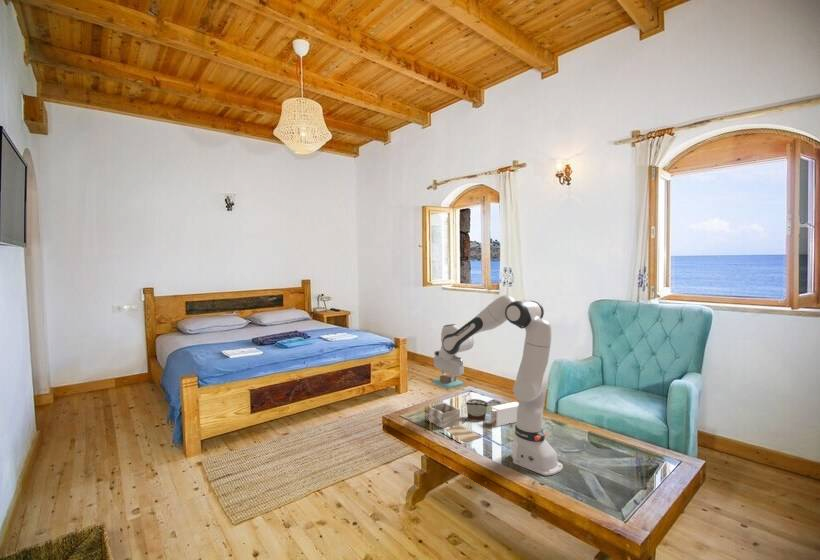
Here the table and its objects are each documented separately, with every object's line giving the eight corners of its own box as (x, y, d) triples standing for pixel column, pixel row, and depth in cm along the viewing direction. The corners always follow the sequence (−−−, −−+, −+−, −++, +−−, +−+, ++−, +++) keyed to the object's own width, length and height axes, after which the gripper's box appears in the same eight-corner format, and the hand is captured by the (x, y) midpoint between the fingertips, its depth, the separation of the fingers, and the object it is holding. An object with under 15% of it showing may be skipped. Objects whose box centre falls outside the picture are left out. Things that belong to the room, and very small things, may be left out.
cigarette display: (515, 417, 228) (516, 401, 228) (522, 421, 223) (523, 404, 223) (488, 423, 218) (489, 406, 218) (495, 427, 213) (496, 410, 213)
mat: (481, 437, 200) (481, 436, 200) (461, 444, 192) (461, 443, 192) (459, 426, 213) (459, 425, 213) (439, 432, 204) (439, 431, 204)
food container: (486, 416, 227) (487, 399, 227) (487, 421, 221) (488, 403, 221) (464, 415, 229) (465, 398, 228) (465, 419, 222) (465, 401, 222)
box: (459, 424, 216) (459, 409, 215) (442, 429, 208) (443, 414, 208) (444, 416, 225) (445, 402, 225) (428, 421, 218) (428, 406, 218)
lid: (464, 386, 212) (464, 377, 212) (447, 390, 205) (447, 380, 205) (448, 380, 223) (448, 371, 222) (431, 384, 215) (431, 374, 215)
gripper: (466, 357, 207) (466, 383, 207) (440, 350, 223) (440, 374, 224) (458, 358, 203) (457, 385, 203) (432, 351, 219) (431, 376, 220)
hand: (448, 379), depth 214 cm, fingers closed on lid, 4 cm apart
